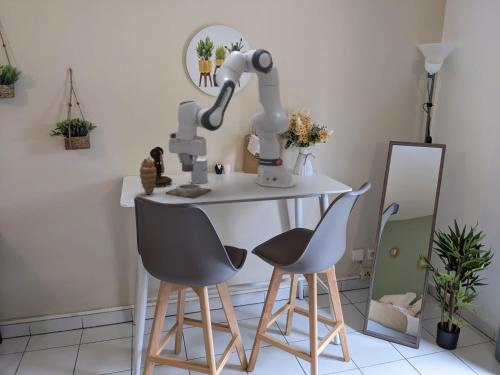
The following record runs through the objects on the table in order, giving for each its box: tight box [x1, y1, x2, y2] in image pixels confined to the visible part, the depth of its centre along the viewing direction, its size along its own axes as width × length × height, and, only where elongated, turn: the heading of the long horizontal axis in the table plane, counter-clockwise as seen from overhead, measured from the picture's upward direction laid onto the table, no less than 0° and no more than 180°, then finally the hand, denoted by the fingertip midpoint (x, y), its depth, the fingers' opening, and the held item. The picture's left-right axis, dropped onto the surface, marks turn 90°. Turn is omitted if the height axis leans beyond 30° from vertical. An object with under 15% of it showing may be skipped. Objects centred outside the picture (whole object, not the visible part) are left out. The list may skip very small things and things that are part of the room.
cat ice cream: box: [139, 156, 157, 195], centre depth 191 cm, size 9×8×18 cm
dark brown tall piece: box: [149, 146, 173, 188], centre depth 210 cm, size 15×15×20 cm
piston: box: [181, 153, 194, 173], centre depth 193 cm, size 6×6×9 cm
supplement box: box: [190, 158, 208, 185], centre depth 218 cm, size 7×7×13 cm
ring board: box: [165, 183, 212, 199], centre depth 197 cm, size 16×16×3 cm
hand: (187, 163), depth 194 cm, fingers closed on piston, 5 cm apart
